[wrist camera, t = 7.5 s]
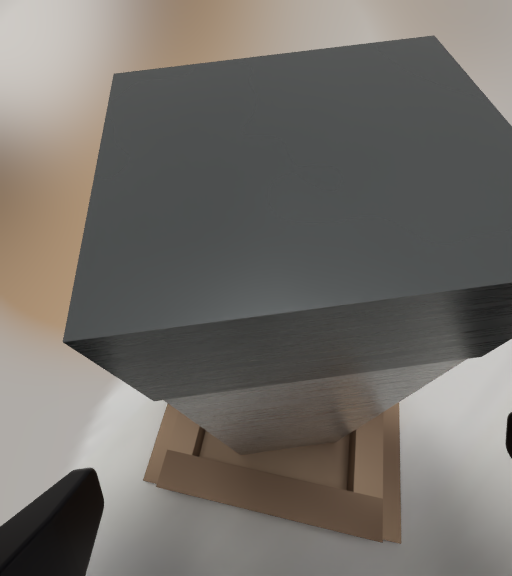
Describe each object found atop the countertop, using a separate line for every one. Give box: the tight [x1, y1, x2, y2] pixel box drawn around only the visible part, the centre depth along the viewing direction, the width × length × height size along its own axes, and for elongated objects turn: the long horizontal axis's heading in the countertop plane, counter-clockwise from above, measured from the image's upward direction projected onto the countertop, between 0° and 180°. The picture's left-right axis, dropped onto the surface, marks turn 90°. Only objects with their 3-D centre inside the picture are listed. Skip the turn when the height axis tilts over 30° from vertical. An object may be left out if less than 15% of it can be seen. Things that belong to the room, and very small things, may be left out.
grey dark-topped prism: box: [63, 36, 512, 455], centre depth 9 cm, size 4×4×13 cm
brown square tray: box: [143, 402, 401, 544], centre depth 14 cm, size 8×10×2 cm
